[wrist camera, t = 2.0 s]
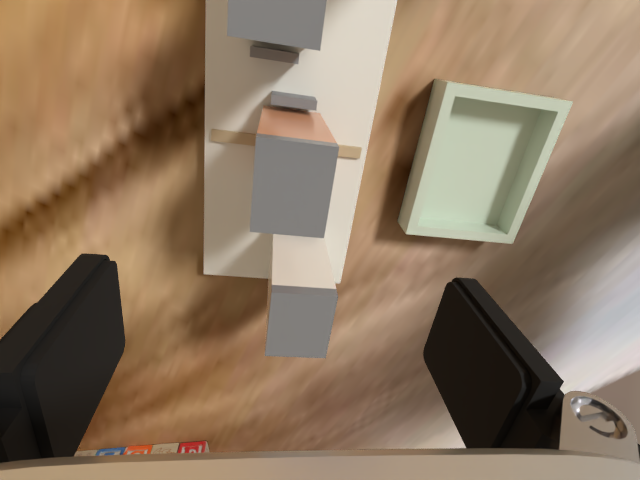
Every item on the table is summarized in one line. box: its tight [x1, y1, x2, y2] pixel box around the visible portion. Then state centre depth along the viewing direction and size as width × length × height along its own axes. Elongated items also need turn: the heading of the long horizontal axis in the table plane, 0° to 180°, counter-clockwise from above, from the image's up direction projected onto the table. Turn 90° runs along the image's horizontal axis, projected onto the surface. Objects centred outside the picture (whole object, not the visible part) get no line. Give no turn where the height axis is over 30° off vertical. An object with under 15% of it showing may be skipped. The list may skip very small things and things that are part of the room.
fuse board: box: [204, 0, 397, 283], centre depth 28 cm, size 12×25×3 cm, turn 172°
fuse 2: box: [265, 234, 338, 358], centre depth 28 cm, size 4×5×10 cm
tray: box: [398, 79, 573, 244], centre depth 30 cm, size 10×12×2 cm
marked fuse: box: [250, 105, 339, 238], centre depth 24 cm, size 4×5×10 cm
